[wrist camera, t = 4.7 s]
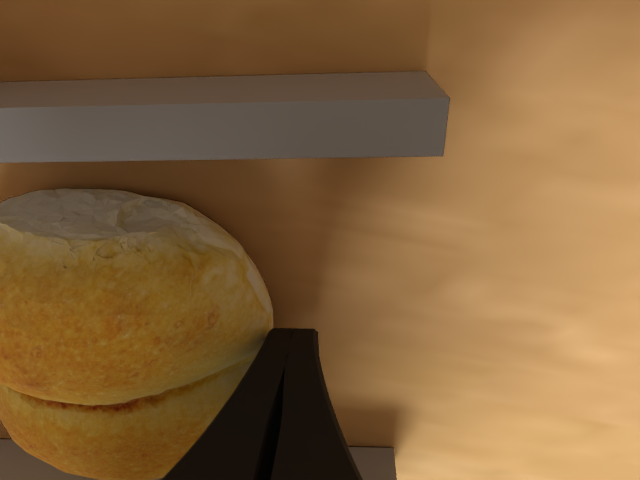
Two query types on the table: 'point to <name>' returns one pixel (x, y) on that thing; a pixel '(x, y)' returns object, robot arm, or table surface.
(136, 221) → the bread roll
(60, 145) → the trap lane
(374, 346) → the table surface
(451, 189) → the table surface
